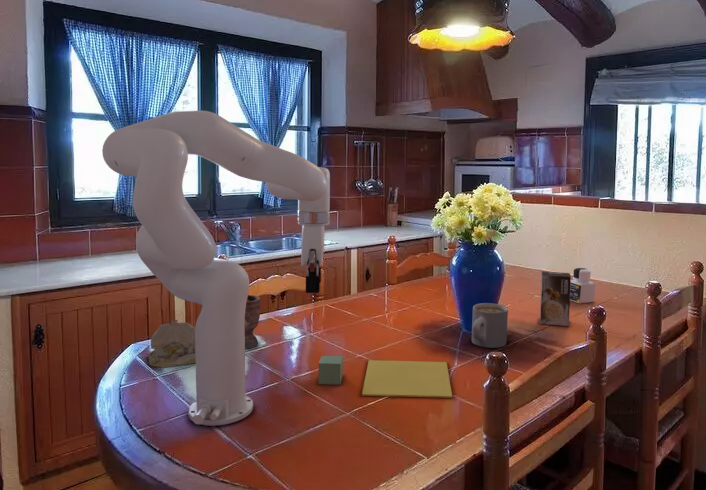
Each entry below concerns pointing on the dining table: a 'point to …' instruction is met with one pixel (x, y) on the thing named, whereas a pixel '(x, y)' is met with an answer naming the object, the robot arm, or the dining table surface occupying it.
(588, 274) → the medicine bottle
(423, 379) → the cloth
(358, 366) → the dining table surface
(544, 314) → the coffee box
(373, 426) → the dining table surface
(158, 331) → the ceramic model
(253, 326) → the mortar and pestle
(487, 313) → the coffee mug
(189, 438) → the dining table surface
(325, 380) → the toy block
